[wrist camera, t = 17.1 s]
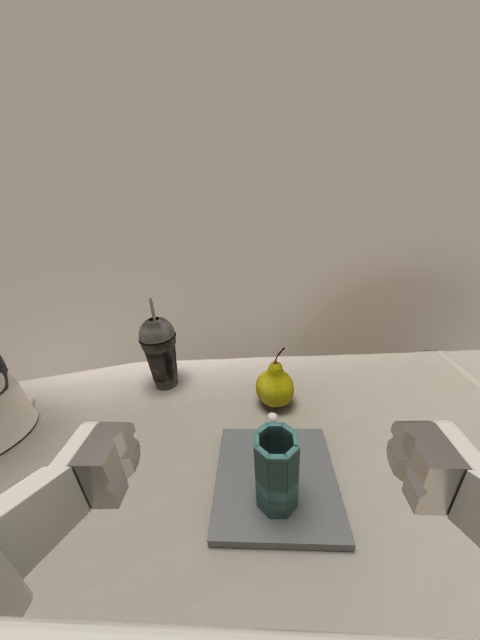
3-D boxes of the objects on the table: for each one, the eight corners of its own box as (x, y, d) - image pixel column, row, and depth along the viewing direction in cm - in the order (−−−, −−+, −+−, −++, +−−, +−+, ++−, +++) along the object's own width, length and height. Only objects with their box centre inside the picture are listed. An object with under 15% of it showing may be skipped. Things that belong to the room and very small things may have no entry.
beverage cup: (179, 370, 63) (164, 288, 55) (188, 387, 57) (173, 298, 49) (147, 380, 60) (126, 295, 52) (153, 399, 54) (131, 306, 46)
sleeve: (256, 518, 32) (253, 458, 28) (256, 478, 36) (253, 422, 32) (299, 519, 31) (302, 459, 27) (294, 478, 36) (295, 422, 32)
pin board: (208, 547, 30) (200, 507, 28) (223, 434, 45) (219, 400, 42) (353, 551, 29) (361, 510, 26) (321, 434, 44) (324, 399, 41)
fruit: (255, 414, 49) (252, 358, 44) (257, 390, 55) (255, 338, 50) (294, 416, 48) (295, 359, 43) (292, 391, 54) (293, 338, 49)
